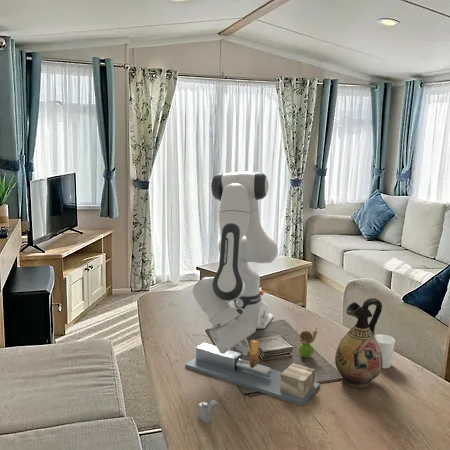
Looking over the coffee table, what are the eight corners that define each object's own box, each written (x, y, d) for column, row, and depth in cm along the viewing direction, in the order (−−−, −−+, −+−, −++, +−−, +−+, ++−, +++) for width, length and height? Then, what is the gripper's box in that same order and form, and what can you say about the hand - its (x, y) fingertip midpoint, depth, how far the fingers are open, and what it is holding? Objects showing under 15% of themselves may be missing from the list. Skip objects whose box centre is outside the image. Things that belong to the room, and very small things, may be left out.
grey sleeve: (203, 355, 183) (203, 342, 182) (241, 366, 175) (241, 353, 174) (196, 360, 179) (196, 347, 178) (233, 372, 171) (234, 359, 170)
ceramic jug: (348, 396, 159) (354, 308, 153) (326, 373, 174) (331, 292, 168) (394, 389, 164) (402, 303, 158) (369, 368, 178) (375, 288, 172)
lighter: (198, 417, 146) (198, 392, 145) (202, 415, 147) (203, 390, 146) (212, 428, 141) (212, 403, 139) (217, 426, 142) (217, 401, 140)
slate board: (207, 352, 188) (207, 349, 188) (319, 386, 165) (319, 383, 164) (185, 367, 176) (185, 364, 176) (302, 406, 153) (302, 402, 153)
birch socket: (291, 379, 167) (292, 363, 166) (314, 385, 163) (314, 369, 162) (280, 390, 159) (280, 374, 158) (303, 398, 155) (304, 381, 154)
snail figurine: (315, 361, 183) (317, 330, 180) (297, 359, 184) (299, 328, 181) (315, 354, 188) (317, 325, 185) (298, 352, 189) (300, 323, 187)
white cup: (392, 361, 184) (395, 336, 182) (392, 371, 176) (394, 344, 174) (370, 357, 186) (372, 332, 184) (369, 367, 179) (371, 341, 177)
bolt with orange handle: (213, 357, 180) (213, 328, 177) (271, 374, 168) (272, 344, 165) (208, 360, 177) (208, 331, 175) (266, 378, 165) (268, 347, 163)
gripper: (213, 325, 162) (238, 360, 159) (244, 306, 179) (267, 338, 176) (202, 334, 165) (226, 369, 162) (233, 315, 182) (256, 347, 179)
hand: (248, 353), depth 169 cm, fingers closed, pressing on bolt with orange handle
